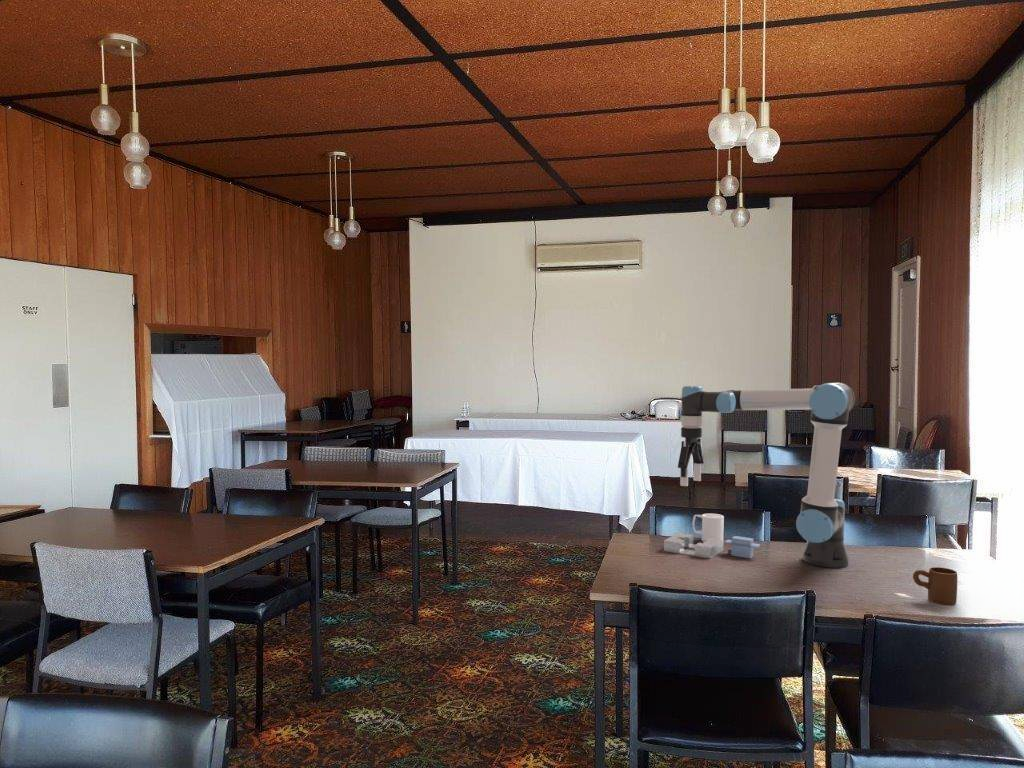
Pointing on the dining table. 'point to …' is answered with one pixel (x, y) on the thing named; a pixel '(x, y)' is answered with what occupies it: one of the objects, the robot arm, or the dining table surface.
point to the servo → (742, 546)
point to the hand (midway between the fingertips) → (690, 483)
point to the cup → (710, 526)
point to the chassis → (693, 546)
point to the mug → (939, 584)
